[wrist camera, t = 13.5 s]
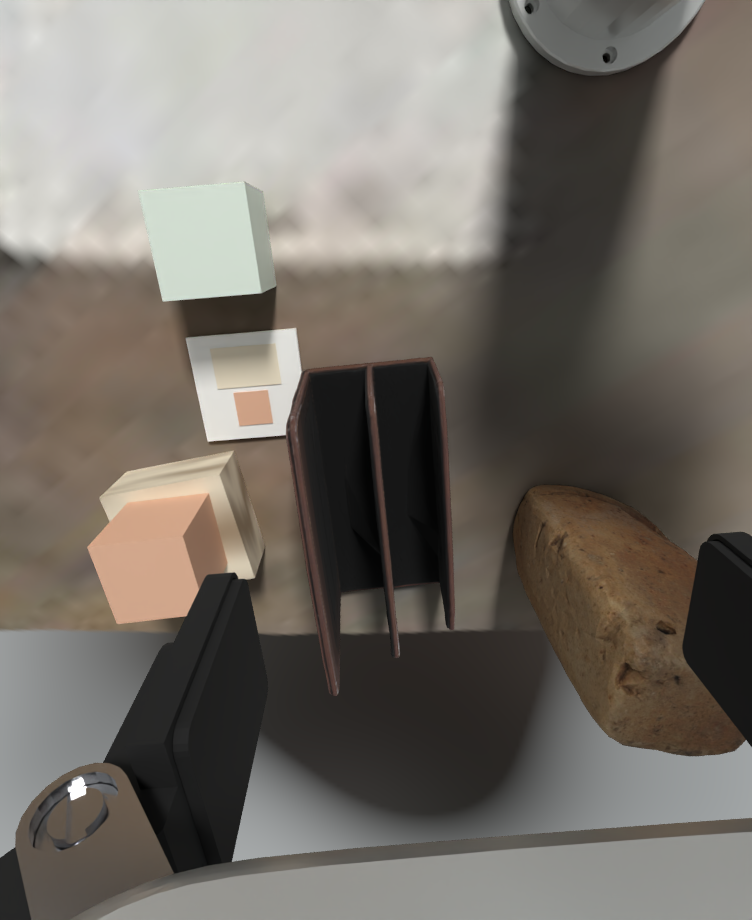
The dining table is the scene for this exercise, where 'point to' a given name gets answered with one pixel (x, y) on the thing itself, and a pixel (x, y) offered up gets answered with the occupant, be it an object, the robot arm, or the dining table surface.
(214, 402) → the card
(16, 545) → the dining table surface
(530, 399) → the dining table surface
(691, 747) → the block
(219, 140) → the dining table surface
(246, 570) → the birch block
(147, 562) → the terracotta cube
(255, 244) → the sage cube
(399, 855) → the robot arm
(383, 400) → the letter holder
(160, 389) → the dining table surface
